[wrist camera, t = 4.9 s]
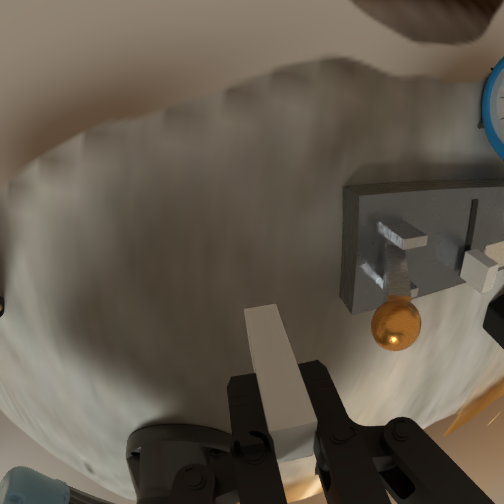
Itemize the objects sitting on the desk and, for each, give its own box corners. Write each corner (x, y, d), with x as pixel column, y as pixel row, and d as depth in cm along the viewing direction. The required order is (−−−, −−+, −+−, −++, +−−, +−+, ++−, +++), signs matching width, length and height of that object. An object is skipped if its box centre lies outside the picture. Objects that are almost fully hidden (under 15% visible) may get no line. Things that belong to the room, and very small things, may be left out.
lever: (373, 275, 20) (365, 359, 13) (377, 241, 19) (373, 318, 12) (408, 279, 19) (415, 363, 12) (414, 245, 18) (429, 323, 11)
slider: (459, 276, 21) (481, 294, 18) (465, 251, 20) (488, 267, 17) (470, 273, 21) (491, 289, 18) (476, 248, 20) (499, 264, 17)
